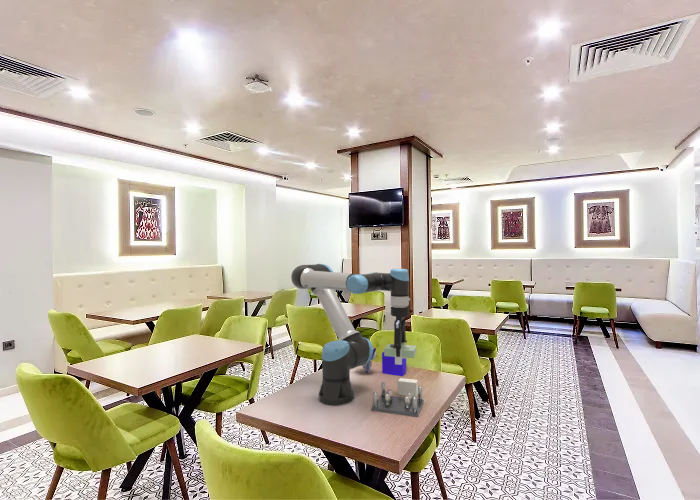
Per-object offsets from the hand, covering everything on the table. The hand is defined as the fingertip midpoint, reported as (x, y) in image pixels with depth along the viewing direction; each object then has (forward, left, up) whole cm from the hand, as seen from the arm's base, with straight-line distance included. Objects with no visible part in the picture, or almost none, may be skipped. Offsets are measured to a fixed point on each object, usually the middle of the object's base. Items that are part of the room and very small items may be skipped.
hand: (400, 361), depth 153 cm
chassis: (0, -4, -17) cm, 18 cm away
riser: (+1, +10, -17) cm, 20 cm away
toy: (-25, +32, -17) cm, 44 cm away
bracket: (-11, +42, -17) cm, 46 cm away
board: (0, 0, +3) cm, 3 cm away
